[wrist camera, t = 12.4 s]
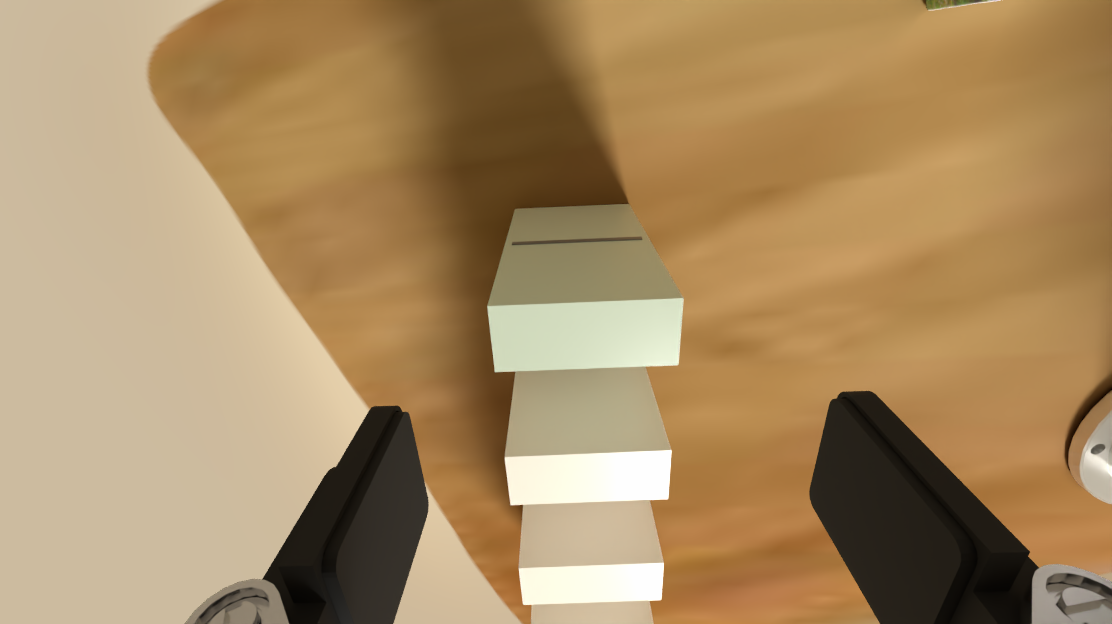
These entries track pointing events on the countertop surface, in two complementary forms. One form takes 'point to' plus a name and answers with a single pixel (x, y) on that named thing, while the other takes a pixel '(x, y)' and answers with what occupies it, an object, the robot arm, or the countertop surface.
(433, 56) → the countertop surface
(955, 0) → the syrup box
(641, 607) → the domino
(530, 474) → the domino
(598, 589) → the domino
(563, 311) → the sage domino
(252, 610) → the robot arm
